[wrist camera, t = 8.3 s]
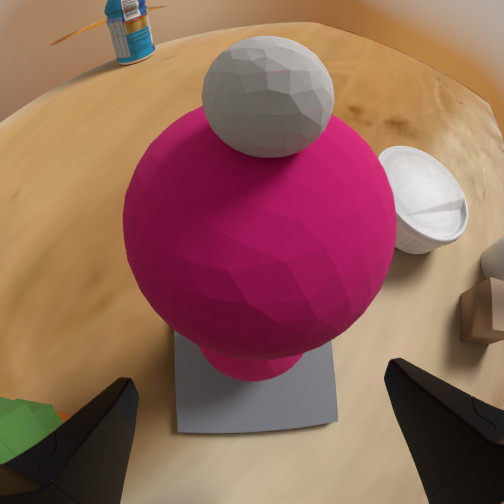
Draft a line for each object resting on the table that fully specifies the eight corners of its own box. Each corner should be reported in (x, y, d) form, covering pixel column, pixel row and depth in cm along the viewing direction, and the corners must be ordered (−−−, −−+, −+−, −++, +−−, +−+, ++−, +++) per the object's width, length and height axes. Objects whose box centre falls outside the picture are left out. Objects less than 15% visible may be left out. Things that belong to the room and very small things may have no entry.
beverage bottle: (111, 69, 42) (89, -11, 24) (126, 52, 46) (110, -20, 28) (148, 62, 42) (131, -25, 24) (161, 46, 45) (149, -31, 27)
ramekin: (424, 286, 23) (455, 264, 19) (338, 217, 27) (354, 183, 22) (452, 217, 27) (476, 192, 22) (382, 162, 30) (398, 131, 26)
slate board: (334, 419, 18) (338, 421, 18) (181, 429, 18) (177, 431, 17) (312, 238, 25) (314, 232, 24) (179, 244, 25) (177, 239, 24)
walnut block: (488, 344, 20) (519, 333, 16) (459, 340, 21) (492, 329, 16) (488, 301, 23) (517, 285, 18) (460, 294, 23) (490, 276, 18)
